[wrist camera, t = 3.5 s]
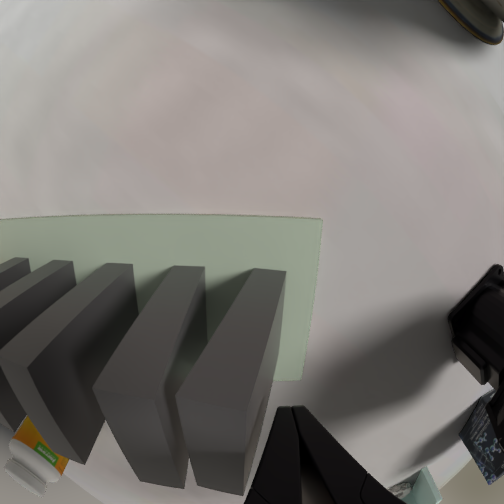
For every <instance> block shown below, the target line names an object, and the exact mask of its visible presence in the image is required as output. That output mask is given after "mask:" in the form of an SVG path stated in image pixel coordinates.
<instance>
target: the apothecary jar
mask: <svg viewBox="0 0 504 504" xmlns="http://www.w3.org/2000/svg"><path fill="white" fill-rule="evenodd" d="M438 1H439V2H440V3H441V5H442V6H443V7H444V8H445V9H446V10H447V11H448V12H449V13H450V14H451V15H452V16H453V17H454V18H455V19H456V20H457V21H458V22H459V23H460V24H461V25H462V26H463V27H464V28H465V29H467V30H468V31H469V32H470V33H472V34H473V35H475V36H476V37H477V38H479V39H480V40H482V41H484V42H486V43H489V44H493V45H497V44H499V43H501V41H502V39H503V36H504V29H503V24H502V21H503V22H504V0H438Z"/></svg>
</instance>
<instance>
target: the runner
mask: <svg viewBox="0 0 504 504" xmlns="http://www.w3.org/2000/svg"><path fill="white" fill-rule="evenodd" d="M322 224H323V220H322V219H320V218H304V217H282V216H257V215H221V214H103V215H69V216H46V217H28V218H12V219H0V264H2V263H4V262H6V261H8V260H10V259H12V258H14V257H20V258H29V263H30V269H31V272H33V271H34V270H36V269H38V268H40V267H41V266H43V265H45V264H47V263H49V262H50V261H52V260H67V261H73V265H74V272H75V278H76V283H77V285H78V284H79V283H80V282H82V281H83V280H84V279H86V278H87V277H88V276H90V275H91V274H92V273H94V272H95V271H96V270H98V269H99V268H100V267H102V266H103V265H105V264H106V263H125V264H133V271H134V280H135V289H136V297H137V304H138V311H139V314H140V313H141V311H142V310H143V308H144V307H145V305H146V304H147V303H148V301H149V300H150V298H151V297H152V295H153V294H154V293H155V291H156V290H157V288H158V287H159V285H160V284H161V283H162V281H163V280H164V279H165V277H166V276H167V274H168V273H169V272H170V270H171V269H172V268H173V266H174V265H178V266H205V285H206V316H207V339H208V342H209V341H210V339H211V338H212V336H213V334H214V333H215V331H216V329H217V328H218V326H219V325H220V323H221V321H222V320H223V318H224V317H225V315H226V313H227V312H228V310H229V308H230V307H231V305H232V304H233V302H234V300H235V299H236V297H237V295H238V294H239V292H240V291H241V289H242V287H243V286H244V284H245V282H246V281H247V279H248V278H249V276H250V274H251V273H252V271H253V269H254V268H260V269H270V270H280V271H287V272H286V284H285V296H284V307H283V317H282V327H281V337H280V347H279V355H278V360H277V364H276V369H275V374H274V378H273V381H295V380H301V378H302V372H303V367H304V361H305V356H306V350H307V344H308V338H309V331H310V325H311V318H312V311H313V304H314V297H315V289H316V281H317V273H318V264H319V255H320V245H321V235H322Z"/></svg>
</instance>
